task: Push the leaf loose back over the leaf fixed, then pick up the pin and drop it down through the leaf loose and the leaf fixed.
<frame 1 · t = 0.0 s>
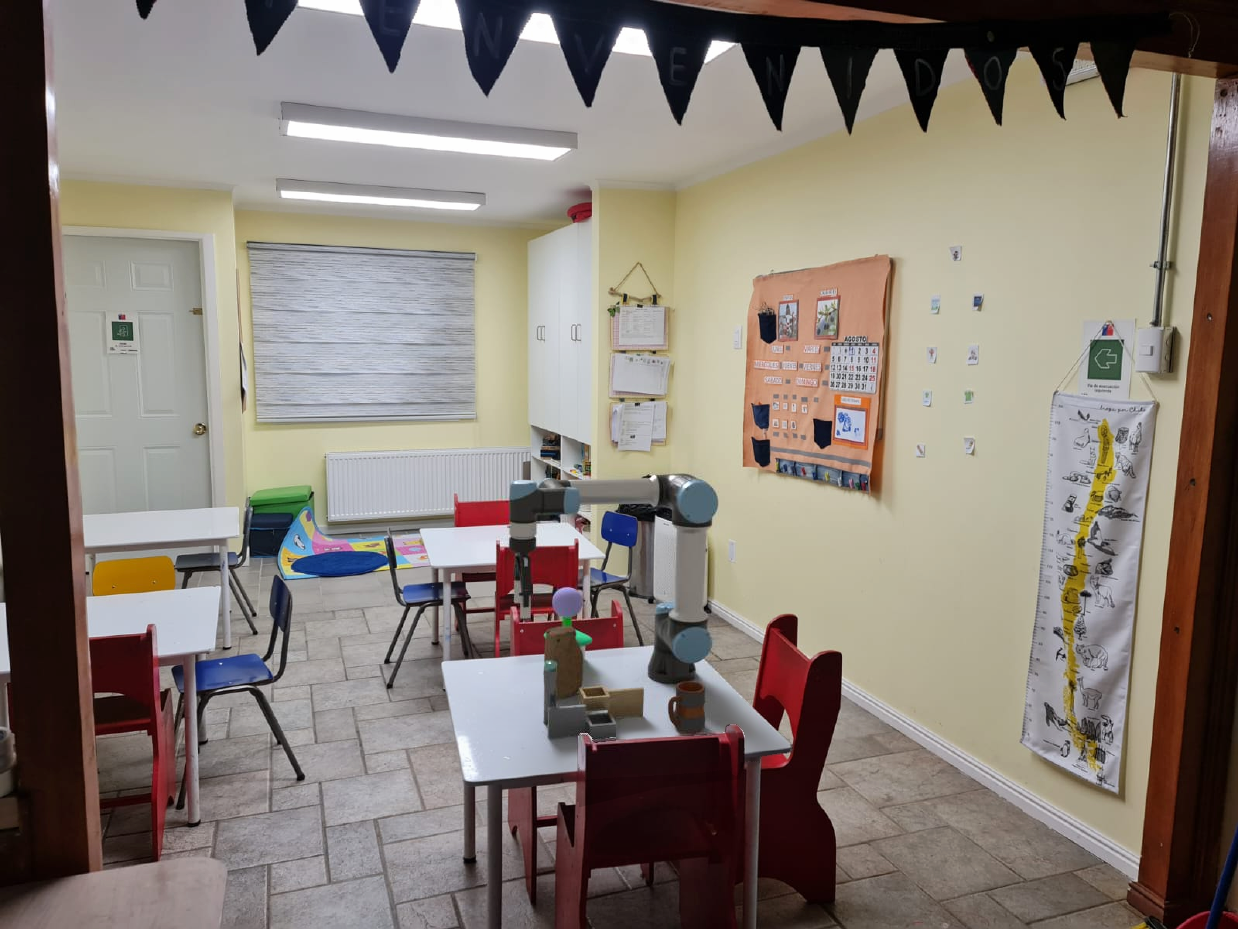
hand: (522, 610, 241), 28 cm above the table, fingers open, 13 cm apart
toy character: (568, 662, 278), on the table
brown piece: (563, 694, 253), on the table
leaf fixed: (600, 733, 229), on the table
mug: (684, 729, 232), on the table
pin: (549, 722, 234), on the table
leaf loose: (612, 704, 237), point 4 cm above the table, slide at 8.0 cm
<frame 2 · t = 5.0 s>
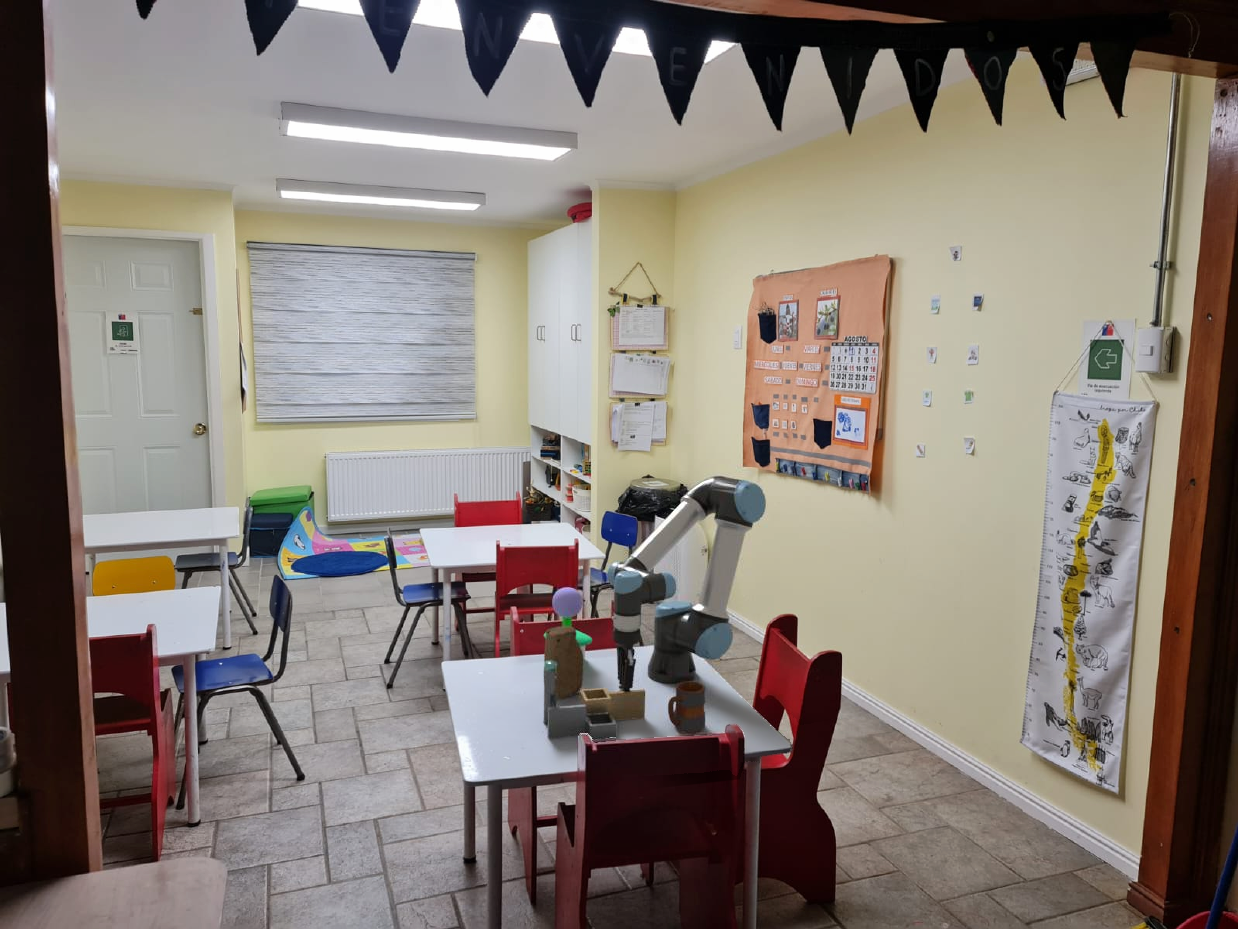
hand: (624, 708, 241), 2 cm above the table, fingers closed
leaf loose: (613, 706, 236), point 4 cm above the table, slide at 6.6 cm, touching gripper
everything else where it was.
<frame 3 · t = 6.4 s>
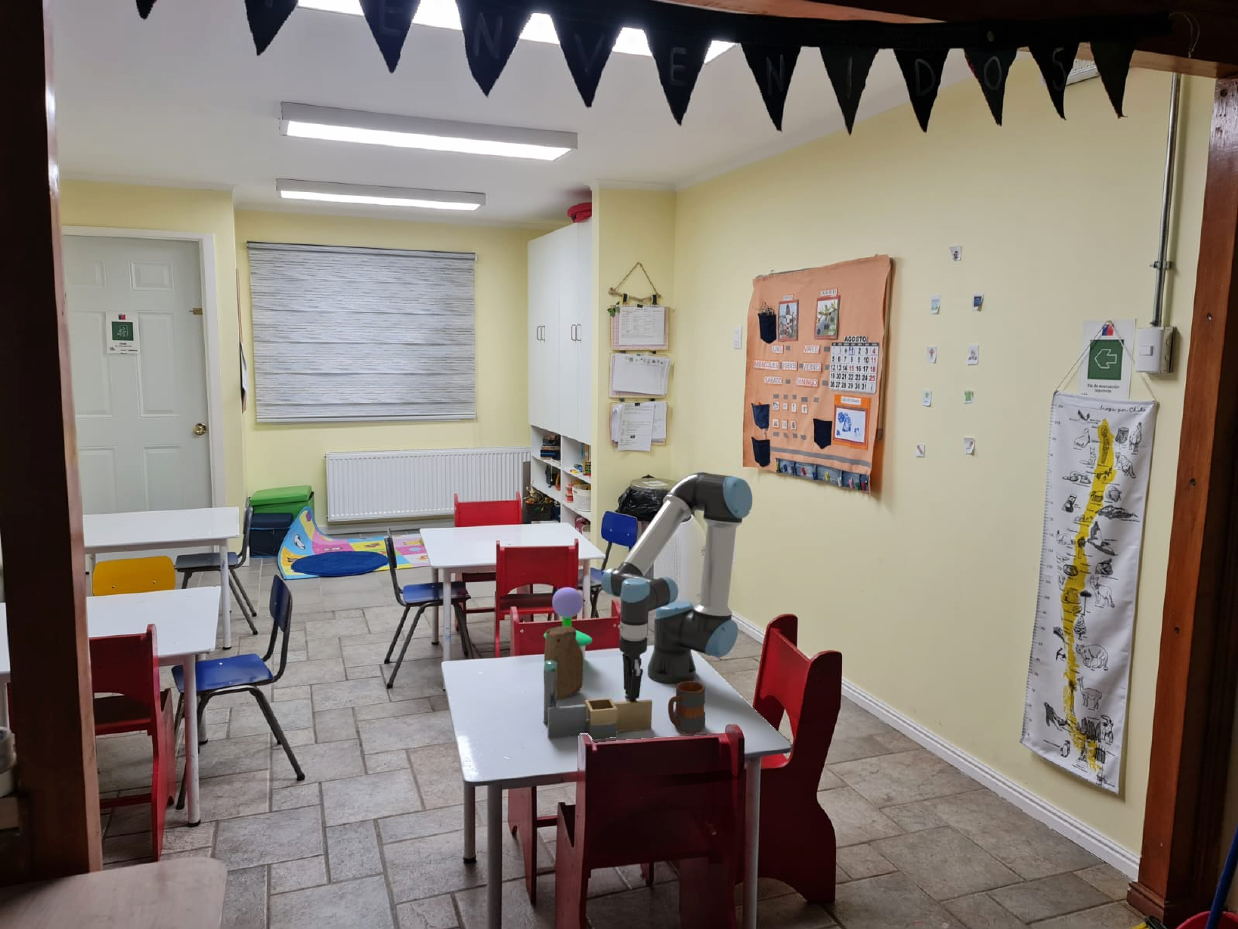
hand: (630, 719, 234), 2 cm above the table, fingers closed
leaf loose: (619, 716, 229), point 4 cm above the table, slide at -0.2 cm, touching gripper
everything else where it was.
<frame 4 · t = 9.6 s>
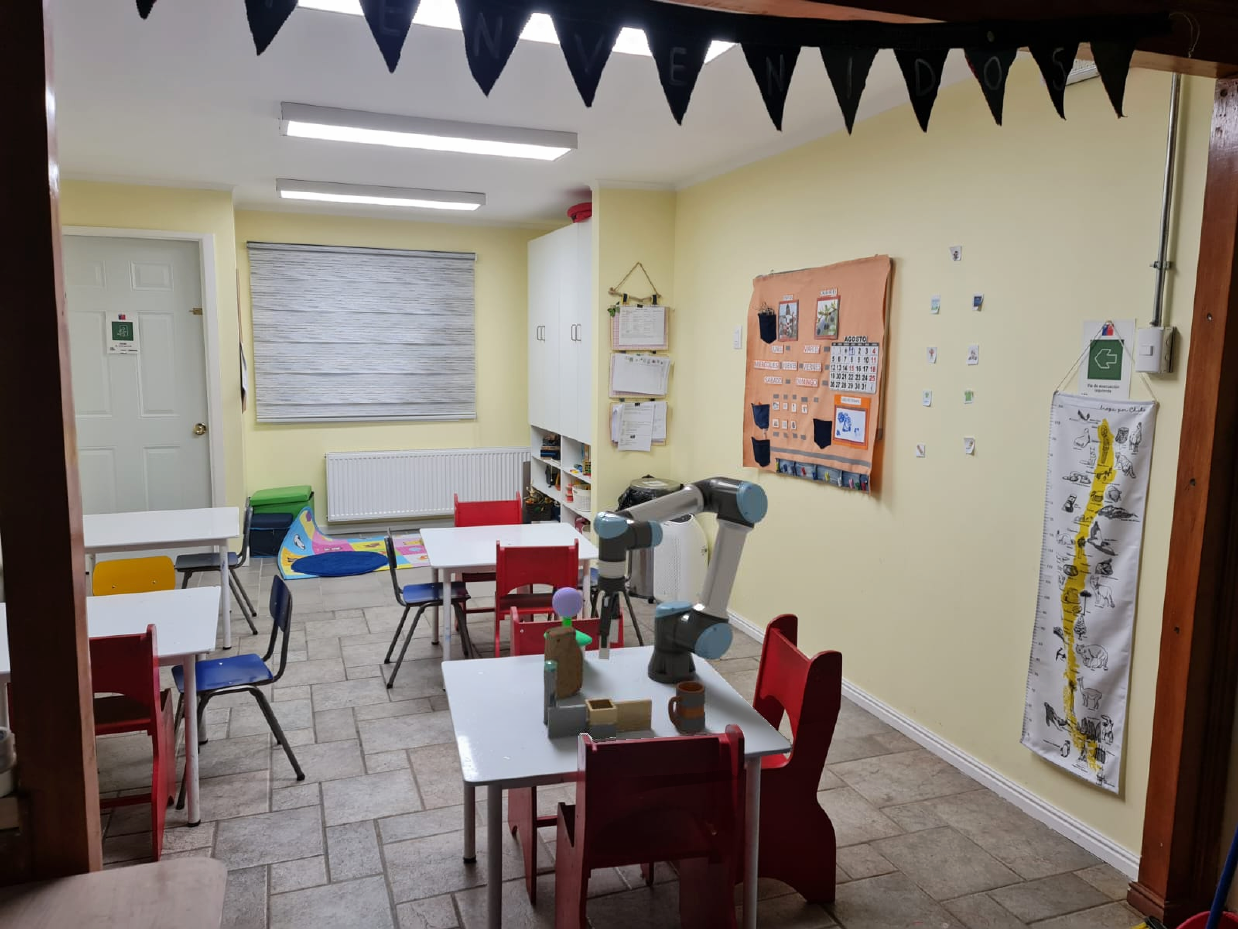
hand: (608, 650, 234), 20 cm above the table, fingers open, 13 cm apart
leaf loose: (619, 716, 229), point 4 cm above the table, slide at 0.0 cm
everything else where it was.
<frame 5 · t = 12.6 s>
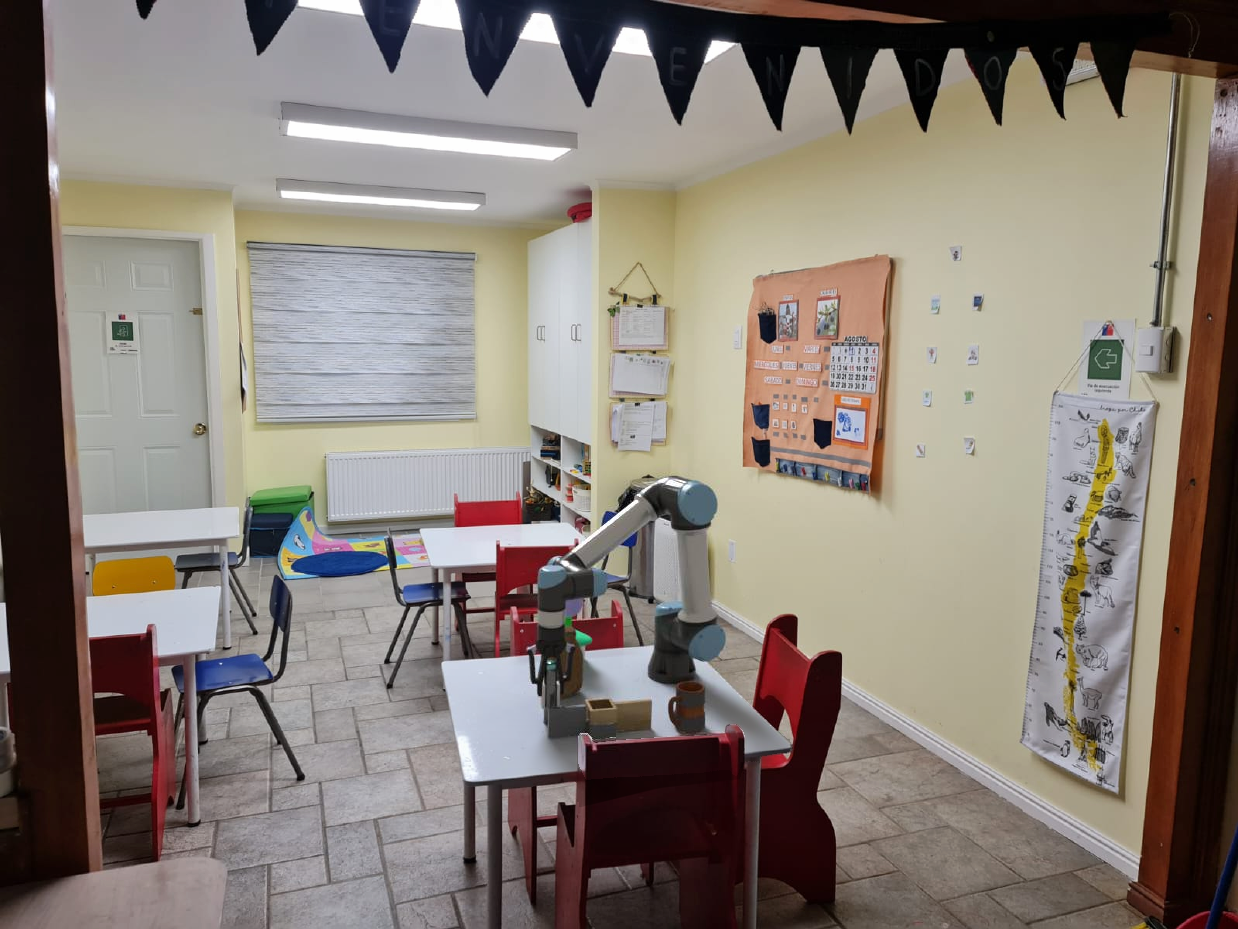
hand: (550, 706, 234), 5 cm above the table, fingers closed on pin, 3 cm apart
pin: (549, 722, 234), on the table, touching gripper
everything else where it was.
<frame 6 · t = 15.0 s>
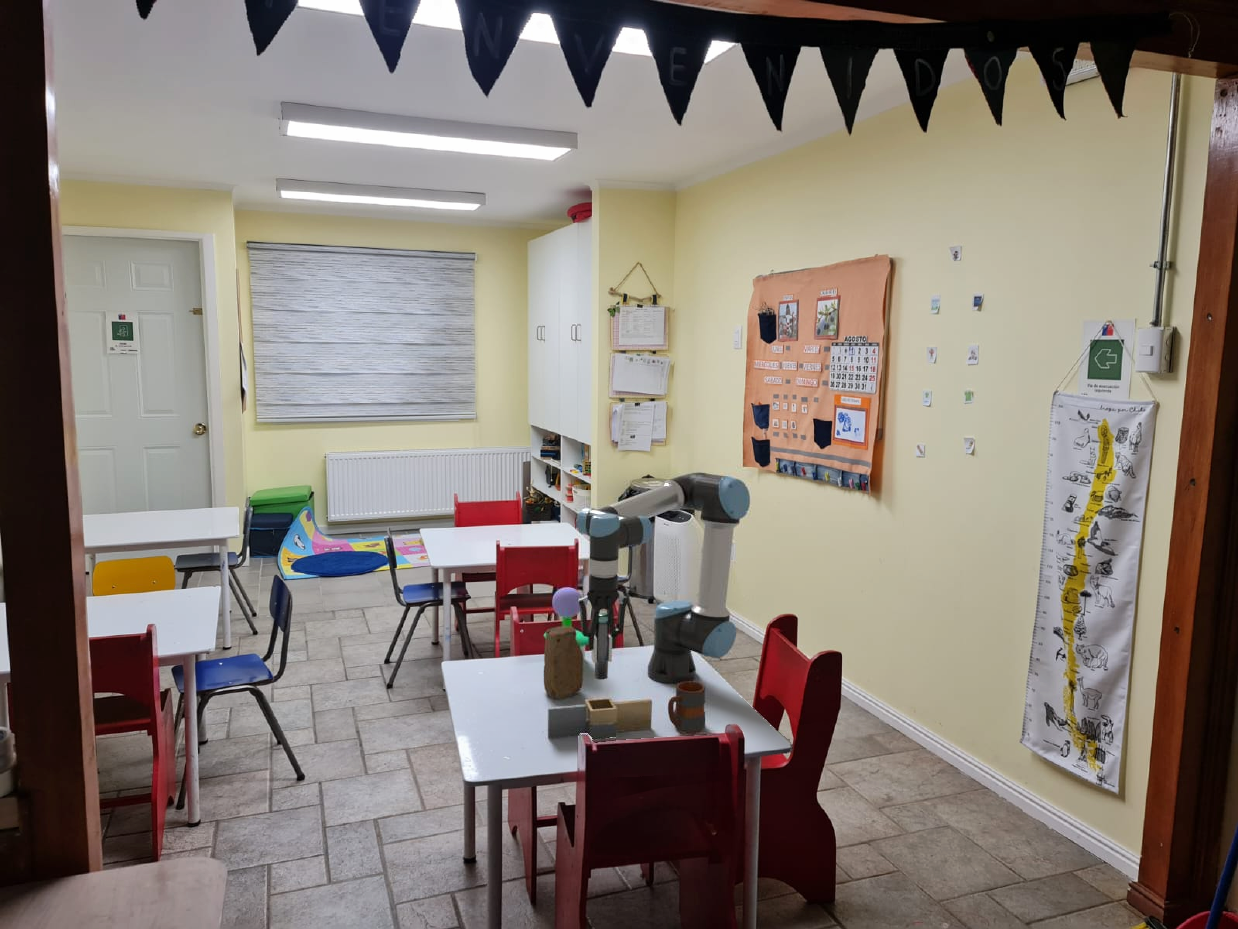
hand: (601, 660, 226), 20 cm above the table, fingers closed on pin, 3 cm apart
pin: (601, 677, 226), point 16 cm above the table, touching gripper
everything else where it was.
when the fingers open (10 cm above the table, at t = 17.5 s): pin drops 5 cm, resting in leaf fixed.
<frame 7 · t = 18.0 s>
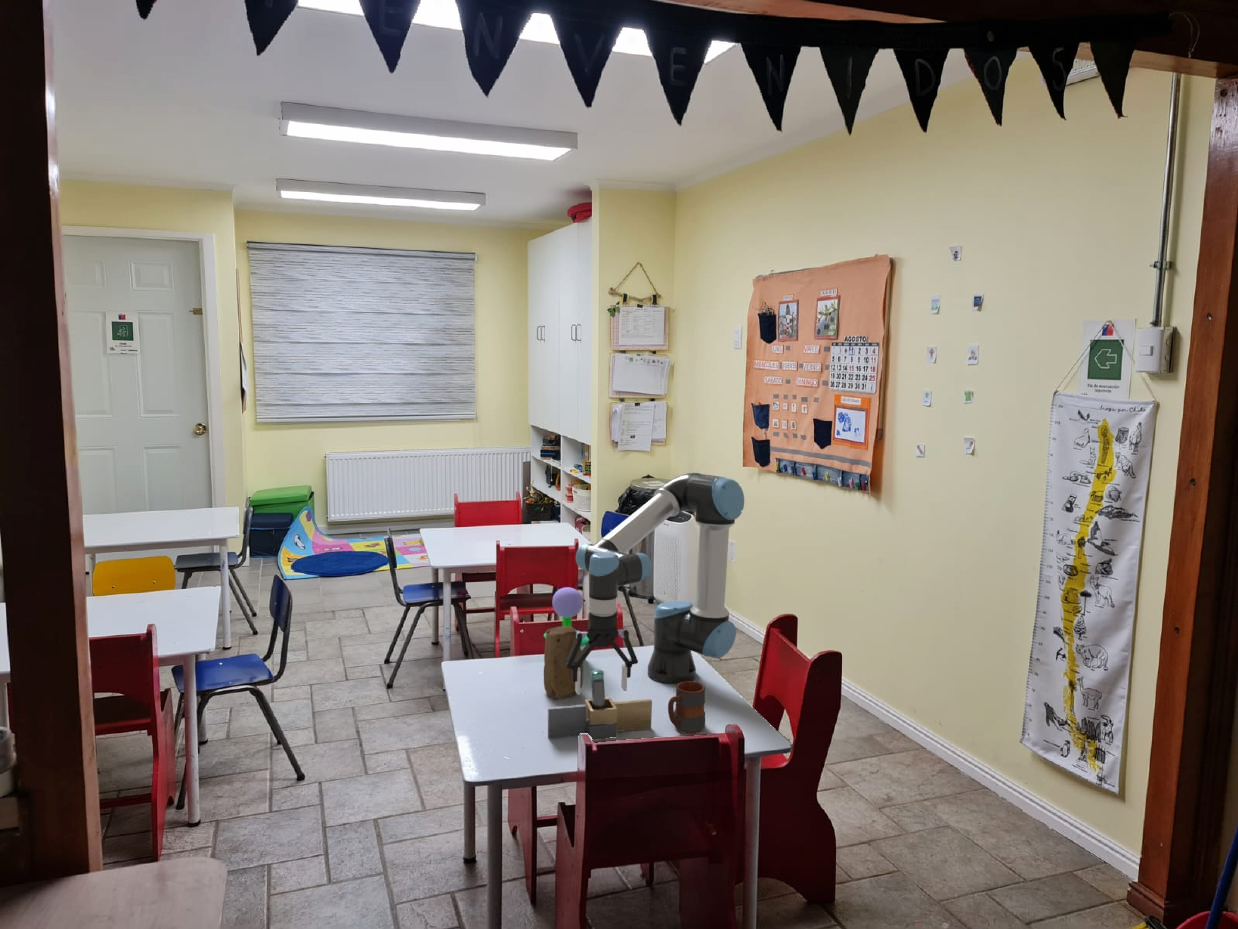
hand: (601, 691, 227), 12 cm above the table, fingers open, 12 cm apart
pin: (600, 732, 229), resting in leaf fixed
everything else where it was.
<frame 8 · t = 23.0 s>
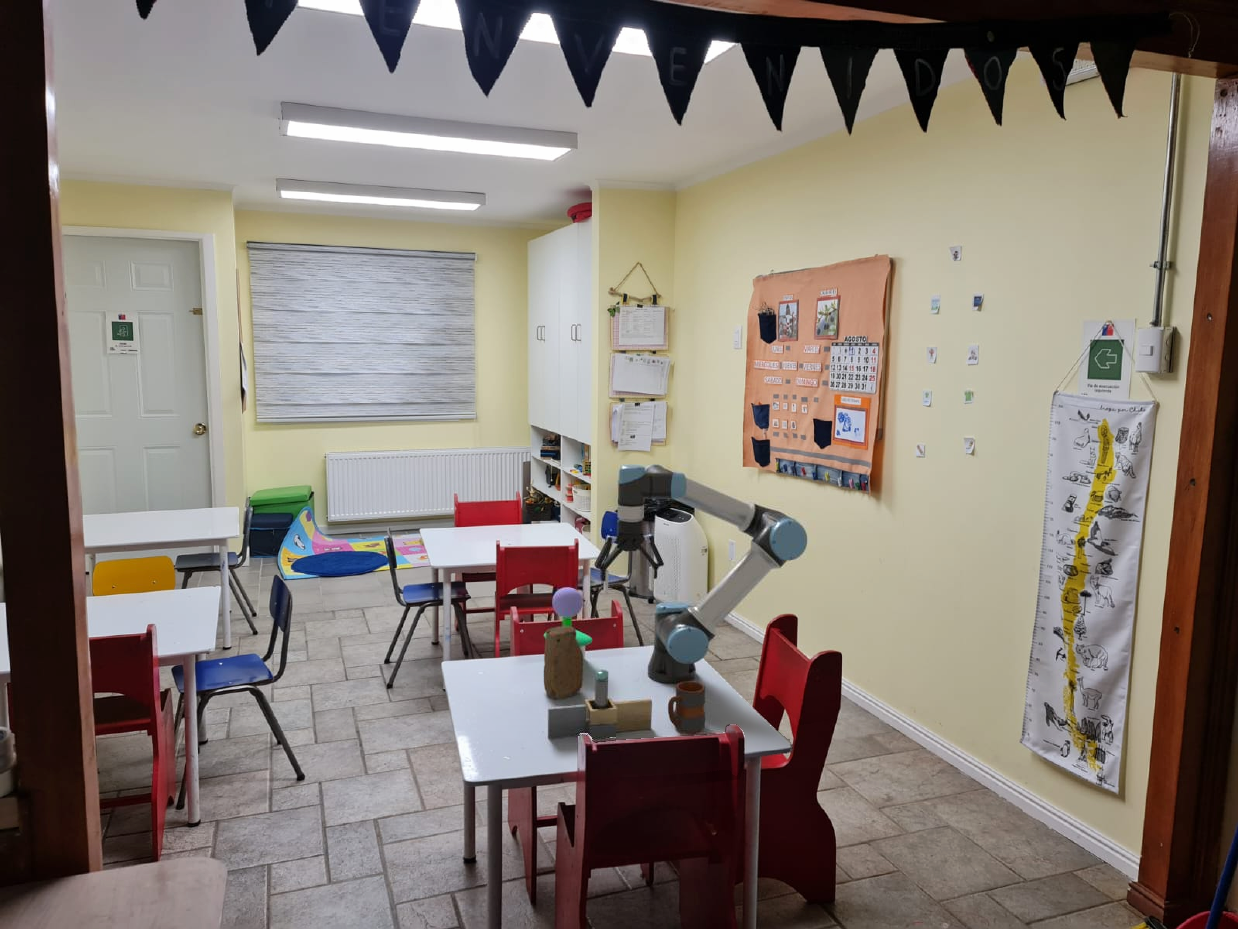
hand: (628, 590, 249), 32 cm above the table, fingers open, 13 cm apart
at the end: leaf loose slide at 0.0 cm; pin 0.1 cm off-centre on the leaf fixed, point 0.0 cm above the leaf fixed's base; pin tilted 0° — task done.
